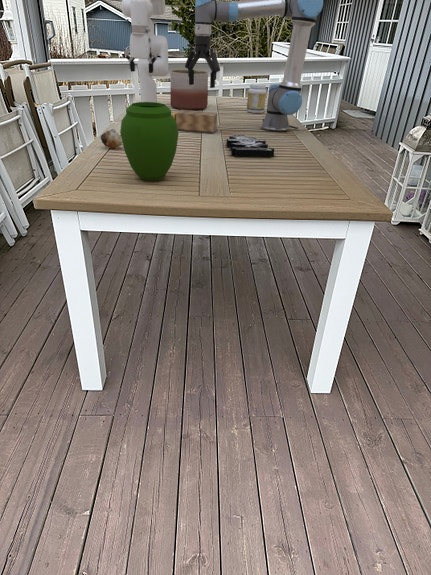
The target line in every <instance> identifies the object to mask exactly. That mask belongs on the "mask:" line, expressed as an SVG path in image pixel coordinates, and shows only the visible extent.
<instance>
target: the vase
mask: <svg viewBox="0 0 431 575" xmlns="http://www.w3.org/2000/svg"><path fill="white" fill-rule="evenodd" d="M125 113H126V114H125V115H124V117H122V119H121V122H120V123H121V124H120V130H119V133H120V134H119V135H120V136H121V138H122V142H123V143H122V147H123V150H124V154H125V155H126V158H127V160H128V163H129V165H130V167H131V168H132V170H133V172H134V173H135V175H136V176H137V177H138V178H139V179H141V180H143V181H145V182H159V181H161V180H163V179H164V178H165V176H166V175H167V174H168V173H169V170H170V169H171V167H172V165H173V162H174V159H175V157H176V156H175V155H176V153H177V147H178V140H179V131H178V128H177V123H176V120H175V119H174V118H173V116H172V109H171V108H170V107H169V106H167V105H166V104H164V103H162V102H157V103H156V102H141V101H138V102H132V103H131V104H130V105H128V107H127V108H125Z"/></svg>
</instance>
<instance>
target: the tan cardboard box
mask: <svg viewBox="0 0 431 575" xmlns="http://www.w3.org/2000/svg"><path fill="white" fill-rule="evenodd" d="M176 112H177V113H176ZM176 112H175V113H176V123H177V128H178V132H186V133H196V134H197V133H198V134H209V135H210V134H211V135H213V134H215V132H216V131H217V130H218V129H217V126H218V123H217V122H218V112H216V111H203V110H202V111H201V110H182V109H179V110H178V111H176Z"/></svg>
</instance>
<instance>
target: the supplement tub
mask: <svg viewBox="0 0 431 575" xmlns="http://www.w3.org/2000/svg"><path fill="white" fill-rule="evenodd" d="M266 87H267V86H266V84H264V83H250V84H249V88H248V90H247V102H246V111H247V112H248V113H250V114H251V113H252V114H263V113H265V112H266V111H265V110H266V101H267V100H266V99H267V89H266Z"/></svg>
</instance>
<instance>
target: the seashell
mask: <svg viewBox="0 0 431 575" xmlns="http://www.w3.org/2000/svg"><path fill="white" fill-rule="evenodd" d="M100 140H101V143H102V144H103V145H104V146H105V147H107V148H110V149H116V148H119V147H120V146H122V145H123V142H122V138H121V134H119V133H118V132H117V131H116V129H114V128H112V129H109V130H106V131H104V132H103V133H102V134H101V135H100Z"/></svg>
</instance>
